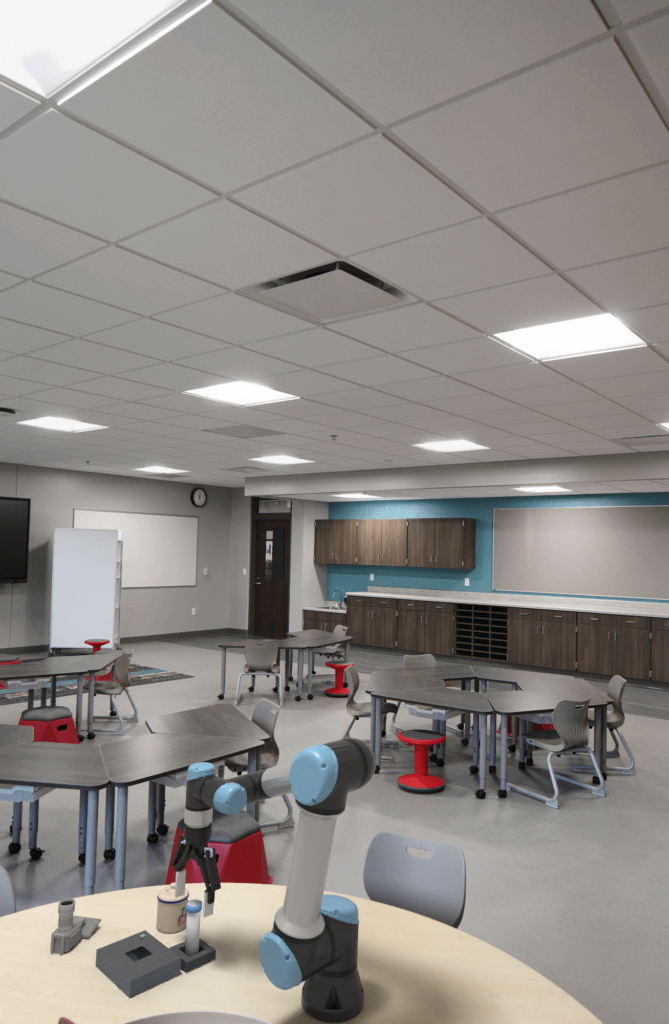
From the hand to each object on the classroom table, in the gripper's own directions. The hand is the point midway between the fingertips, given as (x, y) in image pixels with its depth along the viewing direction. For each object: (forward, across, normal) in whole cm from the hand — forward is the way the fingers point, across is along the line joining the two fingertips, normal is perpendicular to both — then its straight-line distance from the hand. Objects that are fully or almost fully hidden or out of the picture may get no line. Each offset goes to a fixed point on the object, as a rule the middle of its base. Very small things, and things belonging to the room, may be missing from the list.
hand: (193, 905), depth 175 cm
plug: (+13, -1, 0) cm, 13 cm away
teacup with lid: (+14, +18, -6) cm, 24 cm away
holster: (+13, -1, 0) cm, 13 cm away
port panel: (+13, +4, +13) cm, 19 cm away
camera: (+14, +29, +19) cm, 38 cm away
